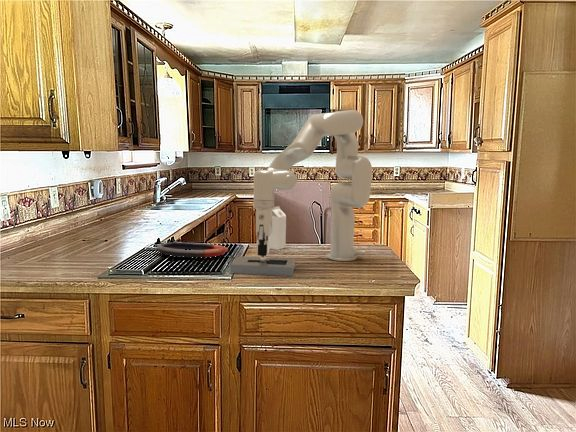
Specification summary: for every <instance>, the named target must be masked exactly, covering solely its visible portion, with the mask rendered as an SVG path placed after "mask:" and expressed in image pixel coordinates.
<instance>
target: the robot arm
mask: <svg viewBox="0 0 576 432" xmlns="http://www.w3.org/2000/svg"><path fill="white" fill-rule="evenodd" d="M363 125H364V118H363V115H362V114H361V113H360V112H359V111H358V110H357V109H356V110H355V109H353V110H352V109H347V110H338V111H333V112H324V113H316V114H313V115H311V116H309V117H308V119H306V122H305V123H304V125H303V126H302V128H301V129H300V130H299V132H298V134H297V136H296V137H295V138H294V140H293V141H292V143H290V144H289V145H288V146H287V147H285V148H284V149H283V150H282V151H281V152H280V153H279V154H277V156H276V157H275V158H273V160H272V161H271V163H270V165H269V166H268V168H267V169H266V170H265V169H258V170H256V171H254V173H253V209H254V210H255V211H256V212H255V236H256V237H257V240H258V254H257V255H258V256H259V257H260V256H266V257H267V255H268V254H267V245H266V239H268V237H269V236H270V235H271V234H272V209H274V207H275V190H276V191H277V190H279V191H290V190H292V189H294V187H296V185H297V182H298V179H297V175H296V174H295V173H294V172H293V171H291V170H289V169H290V168H292V167H293V166H294V165H296V164H298V163H300V162H303V161H305V160H306V159H309V158H310V157H311V156H312V155H313V153H314V152H315V150H316V148H317V147H318V146H319V144H320V142H321V141H322V139H323V138H324V137H332V136H333V137H334V139H335V142H336V156H335V157H336V158H335V160H336V161H335V174H336V176H337V177H338V178H340V179H343V180H351V182H344V181H342V182H337V183H335V184H333V186H332V187H331V188H330V193H329V198H330V199H329V200H330V207H331V221H330V222H331V224H330V247H329V248H330V250H329V251H330V252H328V253H326V256H325V257H326V258H327V259H329V260H333V261H339V262H349V261H350V262H351V261H355V260H357V258H358V257H357V255H358V256H359V255H360V256H364V255H365V250H363V249H356V248H355V246H354V242H355V238H354V237H355V220H356V219H355V217H356V216H355V211H354V208H356V209H361V208H363V207H365V206H367V205H368V203H369V201H370V199H371V198H370V197H371V190H372V188H371V187H372V178H373V177H372V176H373V166H372V163H371V160H369V158H367V157H365V156H362V155H359V154H358V152H359V141H358V139H357V136H356V134H355V133H356V132H359V131H360V130H361V129H362V127H363Z"/></svg>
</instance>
